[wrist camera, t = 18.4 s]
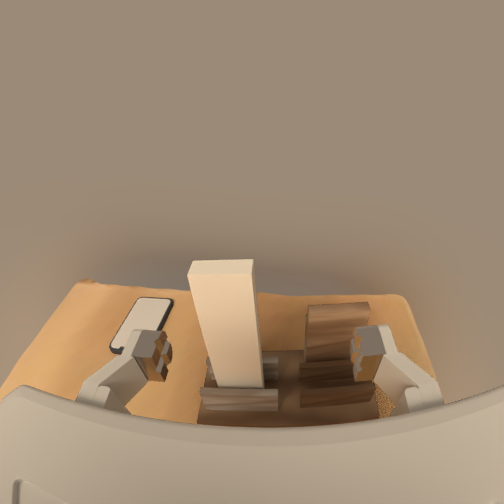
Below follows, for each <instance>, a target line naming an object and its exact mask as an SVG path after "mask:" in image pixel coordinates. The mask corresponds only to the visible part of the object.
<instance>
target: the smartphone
mask: <svg viewBox="0 0 504 504" xmlns="http://www.w3.org/2000/svg"><path fill="white" fill-rule="evenodd" d="M172 307H173V301H172V300H171V299H169V298H152V297H140V298H138V299H137V301H136V302H135V304H134V305H133V307H132V309H131V310H130V312H129V313H128V315H127V317H126V318H125V320H124V322H123V323H122V325H121V326H120V328H119V330H118V331H117V333H116V335H115V337H114V338H113V340H112V342H111V343H110V346H109V347H110V350H111V351H112V353H114V354H119V355H121V354H122V352H123V349H124V347H125V345H126V343H127V340H128V338H129V336H130V334H131V332H132V331H133V330H134V329H141V330H155V331H161V330H162V328H163V326H164V324H165V321H166V319H167V317H168V315H169V313H170V311H171V309H172Z"/></svg>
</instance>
